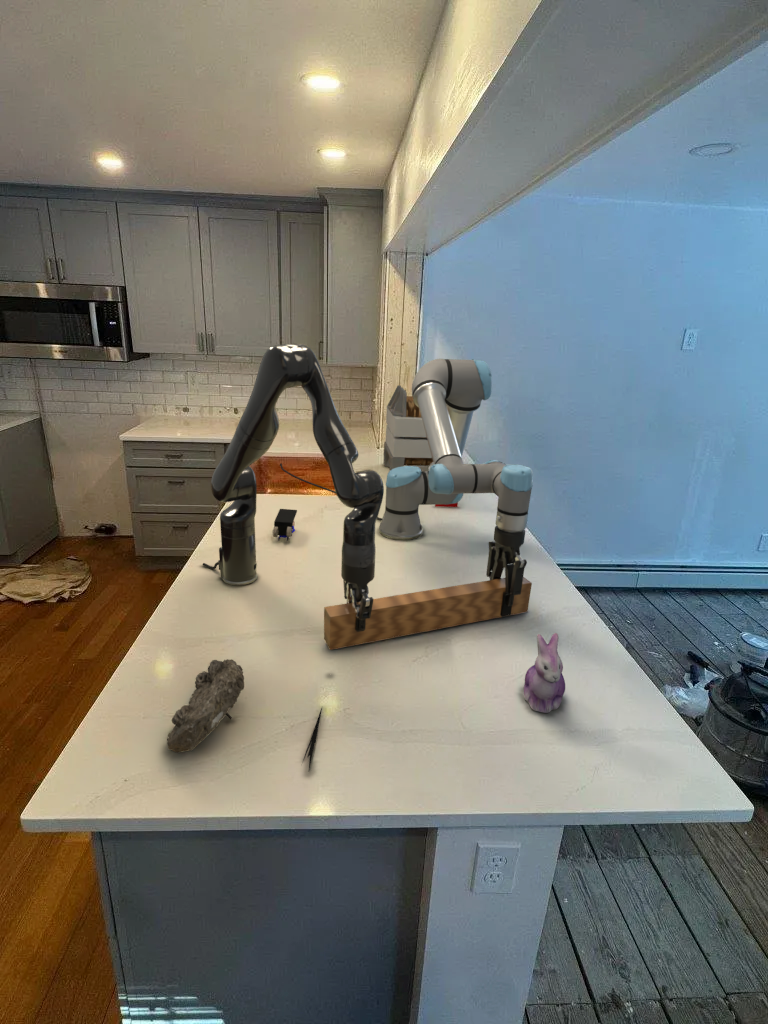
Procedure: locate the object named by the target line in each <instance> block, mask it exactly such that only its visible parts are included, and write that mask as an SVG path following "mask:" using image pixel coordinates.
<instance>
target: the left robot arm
mask: <svg viewBox="0 0 768 1024" xmlns="http://www.w3.org/2000/svg"><path fill="white" fill-rule="evenodd" d="M296 387H297V388H298V387H301V388H302V389H303V390H304V392H305V394H306V395H307V397H308V399H309V401H310V405H311V415H312V417H311V418H312V421H311V422H312V423H311V424H312V433H313V437H314V440H315V443H316V445H317V446H318V448H319V450H320V452H321V454H322V456H323V457H324V459H325V461H326V463H327V465H328V467H329V468H328V469H329V472H330V477H331V480H332V485H333V487H334V491H335V492H336V493H335V495H336V496H337V498H338V499H339V501H340V502H341V503H342V504H343V505H344V506H345V507H348V508H350V509H352V510H351V511H349V513H347V514H346V516H345V517H344V520H343V526H342V527H343V528H342V529H343V531H342V532H343V533H342V545H341V566H340V567H341V570H340V571H341V573H340V575H341V578H342V580H343V597H344V599H345V600H346V603H353V607H354V608H355V612H356V626H355V630H356V631H357V632H360V631H364V630H365V625H366V619H367V618H370V617H371V611H372V605H373V599H374V598H373V597H372V596H370V597H369V593H370V591H369V586H368V585H369V583H370V582H372V581H373V580H374V579H375V575H376V572H375V571H376V523H377V520H378V519H377V517H379V514H380V510H381V507H382V503H383V499H384V494H385V493H384V492H385V487H384V482H383V479H382V477H381V475H380V474H379V473H378V472H377V471H375V470H373V469H364V470H361V471H357V472H355V470H354V467H353V464H354V463H355V462H356V461H357V460H358V458H359V451H358V449H357V446H356V444H355V442H354V441H353V439H352V437H351V436H350V434H349V432H348V430H347V429H346V427H345V425H344V423H343V421H342V419H341V417H340V415H339V412H338V411H337V408H336V406H335V403H334V401H333V398H332V395H331V392H330V389H329V387H328V384H327V382H326V379H325V376H324V373H323V371H322V368H321V366H320V363H319V361H318V358H317V357H316V354H315V353H314V351H313V350H312V349H311V347H309V345H307V344H305V343H300V342H299V343H297V342H295V343H294V342H293V343H284V344H276V345H272V346H270V347H269V348H267V350H266V351H265V352H264V353H263V356H262V357H261V360H260V364H259V367H258V370H257V374H256V377H255V381H254V385H253V388H252V391H251V392H250V396H249V398H248V401H247V404H246V406H245V408H244V411H243V413H242V414H241V416H240V419H239V421H238V423H237V426H236V428H235V431H234V434H233V436H232V438H231V441H230V442H229V445H228V447H227V449H226V451H225V453H224V454H223V456H222V458H221V459H220V460H219V463H218V464H217V465H216V467H215V469H214V471H213V473H212V477H211V480H210V490H211V493H212V496H213V497H214V498H215V499H216V500H217V501H219V502H220V503H230V502H232V503H231V504H230V505H228V507H227V508H225V509H224V510H222V511H221V513H220V514H219V525H220V526H219V527H220V539H221V540H220V542H221V546H220V547H219V548H218V556H219V560H218V561H217V562H215V563H214V565H213V566H212V565H210V564H207V563H205V562H203V563H202V566H203V567H205V568H208V569H209V570H216V569H217V568H218V570H219V572H220V580H223V581H224V583H225V584H227V585H230V586H246V585H250V584H252V583H254V582H255V581H256V580H257V579H258V573H257V572H258V571H257V568H258V562H257V548H256V547H257V546H256V523H255V521H256V520H255V518H256V514H257V498H258V497H257V495H258V494H257V492H258V490H257V489H258V483H257V477H256V474H255V472H254V470H253V468H252V467H251V465H253V464H255V462H257V461H258V460H259V459H260V458H261V457H263V456H264V455H265V454H266V453H267V452H268V451H269V449H270V448H271V446H272V444H273V443H274V440H275V438H276V437H277V435H278V432H279V429H280V419H279V415H278V412H277V409H276V405H277V403H278V400H279V398H280V396H281V395H282V393H283V392H284V391H285V390H286V389H291V388H296ZM356 602H360V604H357V603H356ZM359 608H360V609H359Z"/></svg>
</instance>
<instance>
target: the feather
mask: <svg viewBox="0 0 768 1024" xmlns="http://www.w3.org/2000/svg"><path fill="white" fill-rule="evenodd" d="M329 675H330V676H331V675H332V674H331V673H330V674H329ZM322 710H323V707H321V708H320V710H319V713H318V716H317V719H316V723H315V725H314V728H313V731H312V733H311V737H310V739H309V742H308V745H307V748H306V751H305V754H304V757H303V760H302V763H301V767H302V765H303V763H304V761H305V758H308V759H309V760H308V762H307V763H308V764H307V766H308V771H310V770H311V766H312V765H311V764H312V760H313V757H315V756H314V755H315V751H316V749H315V746H317V739H318V733H319V729H320V722H321V717H322V712H323V711H322ZM313 754H314V755H313ZM306 755H307V757H306Z"/></svg>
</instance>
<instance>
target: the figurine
mask: <svg viewBox="0 0 768 1024" xmlns="http://www.w3.org/2000/svg"><path fill="white" fill-rule="evenodd" d="M536 645H537V656H536V658H535V661H534V665H532V666H530V667H529V668H528V669H527V670H526V673H525V676H524V684H523V697H524V699H525V700H526V702H527V703H528V705H529V707H530V709H532V710H533V711H535V712H540V713H546V714H547V713H548V714H549V713H551V711H553V710H558V708H560V705H561V703H562V701H563V697H564V694H565V692H566V680H565V677H564V675H563V670H564V664H563V661H562V659H561V657H560V654H559V651H558V648H559V634H558V633H557V632H554V633H553V634H552V635H551V637H550V640H549V641H548V643H547V642H546V640H545V638H544V637H543V636H542V635H541V634H539V633H538V634H537V635H536Z"/></svg>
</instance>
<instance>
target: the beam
mask: <svg viewBox="0 0 768 1024" xmlns="http://www.w3.org/2000/svg"><path fill="white" fill-rule="evenodd" d="M532 585H533V582H532V581H530V580H529V579H528V578H526V577H524V576H523V582H522V589H521V594H520V595H514V601H513V605H512V609H511V615H507V616H513V615H514V616H515V615H519V614H523V613H528V611H529V606H530V599H531V593H532ZM503 592H506V589H505V577H501V579H494V580H490V579H489V580H483V581H482V580H481V581H476V582H470V583H464V584H458V585H452V586H446V587H439V588H434V589H428V590H421V591H415V592H409V593H403V594H396V595H390V596H384V597H377V598H373V605H372V611H371V617H370V618H367V619H366V625H365V630H364V631H360V632H357V631H356V630H355V626H356V612H355V608H354V607H353V603H347V602H346V603H340V604H335V605H334V604H333V605H330V606H329V605H328V606H324V607H323V640H324V642H325V645H326V646H327V647H328V649H329V650H330V651H331V650H336V649H341V648H342V649H343V648H347V647H353V646H358V645H363V644H367V643H373V642H379V641H383V640H390V639H393V638H394V639H395V638H399V637H404V636H409V635H415V634H419V633H424V632H430V631H436V630H441V629H445V628H452V627H456V626H461V625H467V624H472V623H478V622H481V621H488V620H493V619H498V618H503V617H505V616H501V615H500V614H501V606H502V598H503ZM356 603H357V604H360V602H356ZM359 609H360V608H359ZM507 616H506V617H507Z"/></svg>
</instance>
